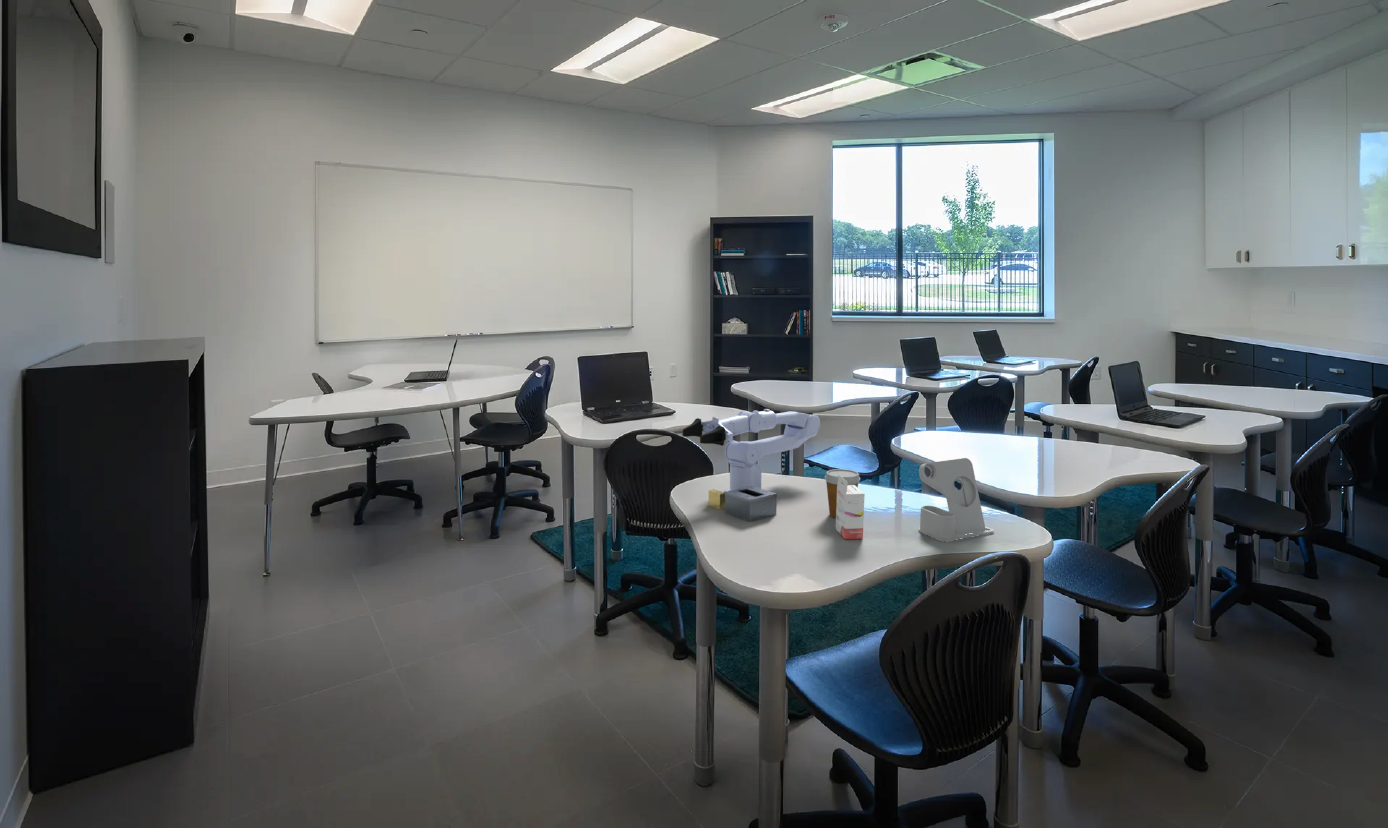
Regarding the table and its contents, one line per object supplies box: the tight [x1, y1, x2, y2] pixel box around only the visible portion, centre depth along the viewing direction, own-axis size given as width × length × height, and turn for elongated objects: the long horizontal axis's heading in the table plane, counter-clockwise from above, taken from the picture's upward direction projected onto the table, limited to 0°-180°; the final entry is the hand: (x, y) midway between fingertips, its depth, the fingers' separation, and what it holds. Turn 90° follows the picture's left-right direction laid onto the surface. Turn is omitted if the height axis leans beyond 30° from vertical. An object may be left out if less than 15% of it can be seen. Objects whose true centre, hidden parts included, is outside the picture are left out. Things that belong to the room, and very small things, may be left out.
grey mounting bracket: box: [917, 457, 994, 542], centre depth 180 cm, size 17×10×18 cm, turn 113°
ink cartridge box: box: [835, 475, 865, 540], centre depth 180 cm, size 9×5×15 cm, turn 5°
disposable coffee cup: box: [824, 468, 861, 519], centre depth 194 cm, size 10×10×12 cm
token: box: [708, 488, 725, 510], centre depth 204 cm, size 2×5×4 cm, turn 38°
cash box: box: [724, 486, 778, 523], centre depth 197 cm, size 10×10×6 cm
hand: (691, 436), depth 202 cm, fingers open, 7 cm apart
